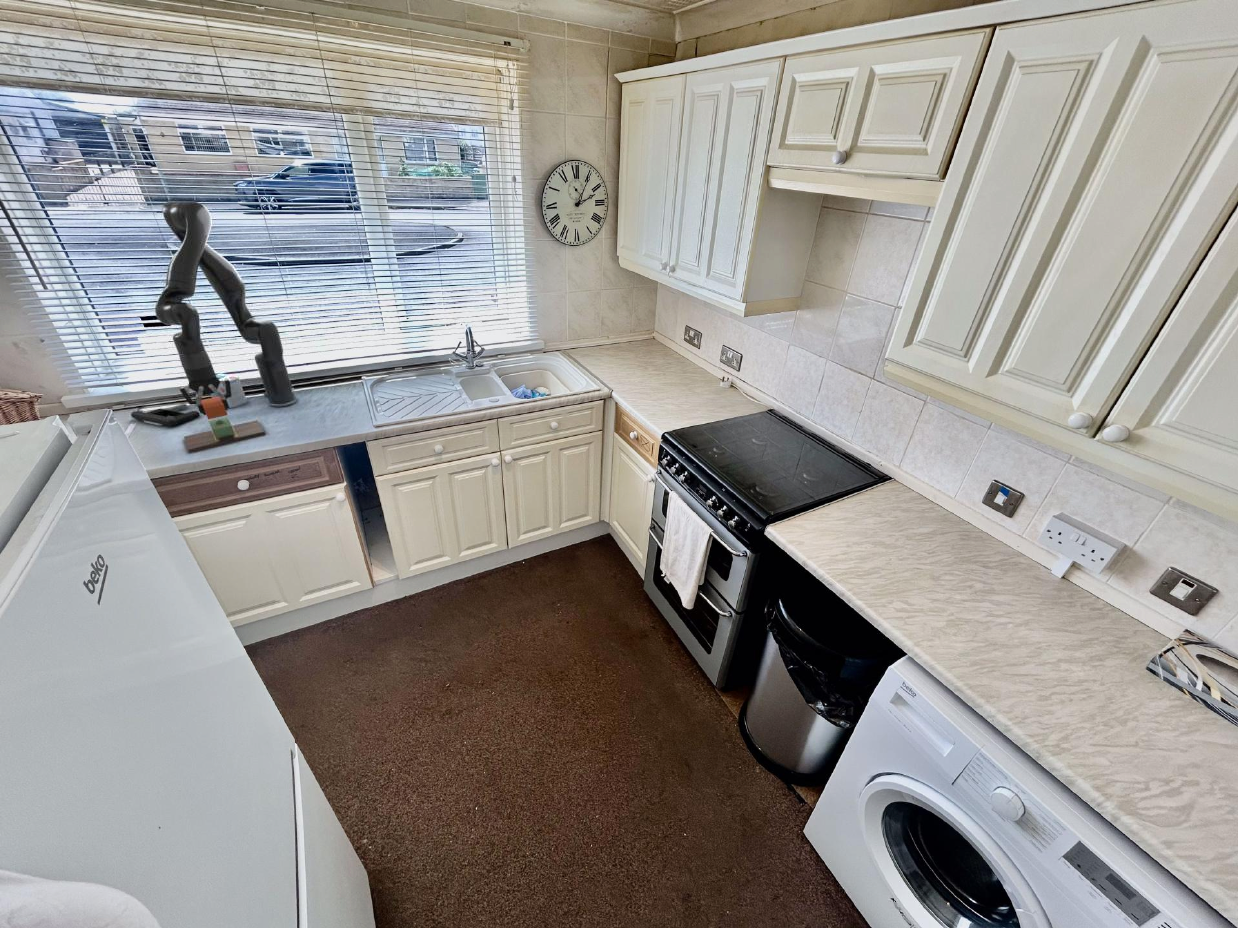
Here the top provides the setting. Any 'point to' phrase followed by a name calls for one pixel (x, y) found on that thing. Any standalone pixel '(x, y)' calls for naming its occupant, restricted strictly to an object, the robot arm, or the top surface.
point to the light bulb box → (232, 390)
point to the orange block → (214, 407)
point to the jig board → (209, 440)
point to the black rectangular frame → (166, 416)
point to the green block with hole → (221, 427)
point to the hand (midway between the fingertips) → (215, 411)
